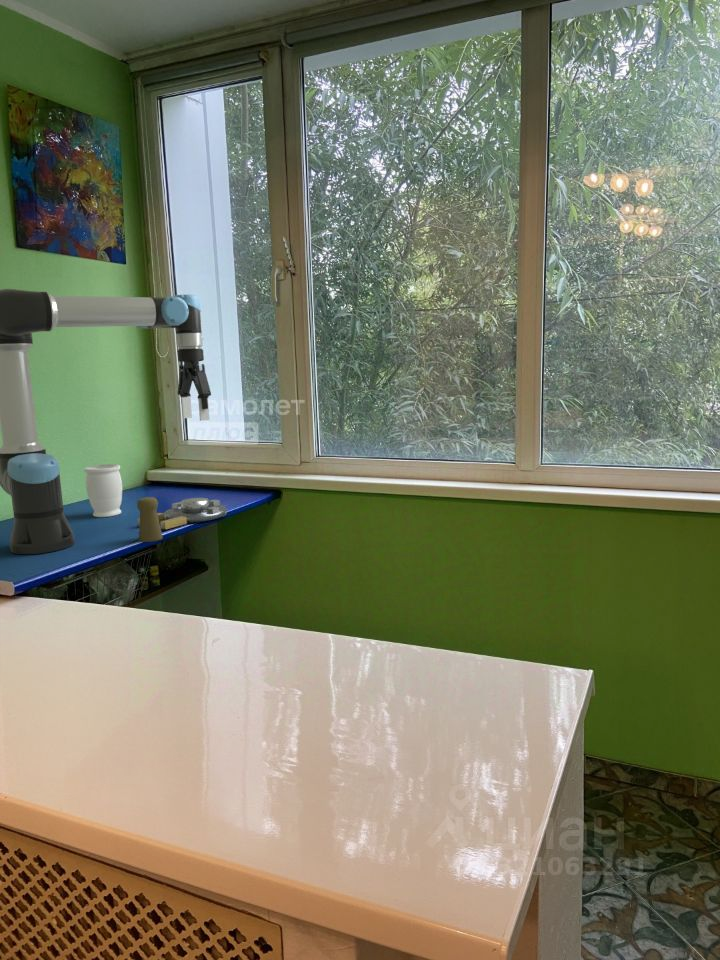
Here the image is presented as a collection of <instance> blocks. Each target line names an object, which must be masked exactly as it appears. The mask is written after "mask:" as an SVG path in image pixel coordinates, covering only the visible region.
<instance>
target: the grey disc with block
mask: <svg viewBox="0 0 720 960" xmlns="http://www.w3.org/2000/svg"><path fill="white" fill-rule="evenodd" d="M171 506H172V508H170V509H169V508H168V509H167V510H165V511H164V512H157V515H158V519H159V524H160V528H161V530H168V529H172V528H176V527H180V526H183V525H187V524H189V523H190V524H191V523H199V522H207V521H212V520H213V521H214V520H216V519H221V518H222V517H225V516H226V515H227V506H225V505H222V504H221V502H220V500H219V499H211V500H209V498H205V497H191V498H185V499H183V500H180V502H179V501H178V502H173V503H171ZM137 520H138V521H137V523H138V524H139V523H140V517H137Z"/></svg>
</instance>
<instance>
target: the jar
mask: <svg viewBox="0 0 720 960" xmlns="http://www.w3.org/2000/svg"><path fill="white" fill-rule="evenodd" d="M120 469H121V465H120V464H113V463H112V464H111V463H107V464H97V465H91V466H86V467H84V469H83V470H84V472H85V473H86V476H85V477H86V478H85V489H86V493H87V494H86V495H87V496H88V500H89V504H90V506H91V508H92V509H93V513H92V516H93V517H94V518H108V517H114V516H118V515H120V514H122V510H121V509H120V507H121V504H122V501H123V481H122V476H121V473H120Z"/></svg>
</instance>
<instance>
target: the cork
mask: <svg viewBox="0 0 720 960" xmlns="http://www.w3.org/2000/svg"><path fill="white" fill-rule="evenodd" d="M158 505H159V501H158V499H157V498H156V497H152V496H146V497H142V498H139V499H138V500H137V502H136V507H137V509H138V511H139V518H140V523H138V526H139V527H138V528H139V529H138V530H139V531H138V541H139V542H142V543H143V542H144V543H149V542H157V541H160V540H162V539H164V538H163V533H162V529H161V524H160V522H159V519H158V515H157V513H158V512H157V509H158Z"/></svg>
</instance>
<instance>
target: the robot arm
mask: <svg viewBox="0 0 720 960" xmlns="http://www.w3.org/2000/svg"><path fill="white" fill-rule="evenodd" d="M200 304H201V303H200V300H199V297H198V296H197V295H195V294H175V295H174V296H167V297H150V296H149V297H147V296H146V297H145V296H144V297H143V296H141V297H139V296H136V297H135V296H79V295H78V296H77V295H75V296H72V295H70V296H69V295H60V296H59V295H52V294H50V293H49V292H48V291H36V290H35V291H34V290H24V289H22V290H21V289H16V288H2V289H0V432H1V433H0V434H1V438H2V439H1V440H2V446H1V447H0V488H2V490H3V491H4V492H5V493H6V494H7V495H9V496H10V497H11V503H12V505H11V506H12V511H13V512H12V513H13V526H12V531H11V534H10V535H11V536H10V539H9V550H10V552H11V553H13V554H18V555H36V554H37V555H39V554H45V553H50V552H51V553H52V552H57V551H61V550H64V549H66V548H69V547H72V546H73V545H74V544H75V541H76V540H75V533H74V532H73V529H72V528H71V526H70V523H69V521H68V520H67V517H66V516H65V511H64V503H63V494H62V483H61V476H60V471H61V470H60V469H61V467H60V466H59V462H58V459H57V457H55V456H54V455H51V454H48V453H47V452H46V451H47V450H46V447H45V446H44V445H43V444H42V443H41V442H39V436H38V435H39V434H38V427H37V421H36V420H37V419H36V411H35V403H34V402H35V401H34V395H33V387H32V385H33V383H32V379H31V369H30V361H29V350H30V349H31V348H32V347H33V346H34V343H33V342H34V341H33V340H34V339H33V334H34V333H40V332H52V331H53V330H54V329H55V328H86V327H87V328H88V327H89V328H90V327H94V328H95V327H100V328H101V327H136V328H138V329H146V330H149V329H175V340H176V342H175V343H176V347H177V348H178V350H177V361H178V362H179V363H181V362H182V363H183V364H179V375H178V387H177V395H178V396H179V397H180V400H181V402H180V403H181V410H182V411H181V413H182V419H190V418H191V419H192V418H193V413H192V401H191V388H192V384H194V386H195V389H196V392H197V394H198V395H197V399H198V400H197V402H198V411H199V412H198V414H199V421H210V407H209V398H210V396H212V392H211V388H210V385H209V381H208V378H207V374H206V367H205V364H204V363H200V362H203V361H204V359H205V357H204V356H205V355H204V349H203V348H202V347H203V340H204V336H203V334H202V332H203V331H202V320H201V319H202V318H201V306H200Z"/></svg>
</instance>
